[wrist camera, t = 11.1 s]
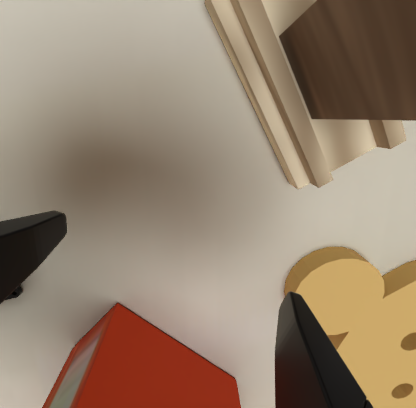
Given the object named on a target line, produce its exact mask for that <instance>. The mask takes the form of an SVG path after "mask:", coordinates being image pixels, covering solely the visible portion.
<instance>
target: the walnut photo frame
mask: <svg viewBox="0 0 416 408" xmlns="http://www.w3.org/2000/svg"><path fill="white" fill-rule="evenodd" d="M279 38H280V41H281V44H282V46H283V49H284V51H285V54H286V56H287V59H288V61H289V64H290V66H291V69H292V71H293V74H294V76H295V79H296V81H297V84H298V86H299V89H300V91H301V94H302V96H303V99H304V101H305V104H306V106H307V109H308V111H309V114H310V116H311V119H337V120H416V0H317V1H316V2H315V3H314V4H312V5H311V6H310V7H309V8H308V9H307V10H306V11H305V12H304V13H303V14H302V15H301V16H300V17H299V18H298V19H297V20H295V21H294V22H293V23H292V24H291V25H290V26H289V27H288V28H287V29H286V30H285V31H284V32H283V33H282V34H281V35H280V36H279Z"/></svg>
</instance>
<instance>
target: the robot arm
mask: <svg viewBox="0 0 416 408" xmlns="http://www.w3.org/2000/svg"><path fill="white" fill-rule="evenodd" d="M66 233H67V223H66V216H65V214H64V213H61V212H58V211H50V212H45V213H40V214H35V215H30V216H25V217H21V218H16V219H11V220H6V221H1V222H0V304H1V303H2V302H3V301H4V300H7V299H11V298H16V297H18V296H19V295H20V294H21V293H22V289H21V287H20V284H21V283H22V282H23V281H24V280H25V279H26V278H27V277H29V276H30V275H31V274H32V273H33V272H34V271H35V270H36V269H37V268H38V267H39V266H40V264H41V263H42V262H43V261H44V260H45V259H46V258H47V256H48V255H49V254H50V253H51V252H52V251H53V249H54V248H55V247H56V246H57V245H58V244H59V242H60V241H61V240H62V239H63V238H64V237H65V235H66ZM15 291H16V292H15ZM275 405H276V408H374V407H373V406H372V404H371V403H370V401H369V400H367V397H366V395H365V394H364V392H363V390H362V389H361V387H360V386H359V384H358V383H357V381H356V380H355V378H354V376H353V375H352V373H351V372H350V370H349V369H348V367H347V365H346V364H345V362H344V361H343V359H342V358H341V356H340V355H339V353H338V351H337V350H336V348H335V347H334V345H333V344H332V342H331V341H330V339H329V337H328V336H327V334H326V333H325V331H324V330H323V328H322V327H321V325H320V323H319V322H318V320H317V319H316V317H315V316H314V314H313V313H312V311H311V309H310V308H309V306H308V305H307V303H306V302H305V300H304V299H303V297H302V296H301V295H300V294H298V293H295V292H292V291H289V292H288V293H287V295H286V297H285V298H284V300H283V302H282V304H281V306H280V309H279V316H278V326H277V336H276V346H275Z"/></svg>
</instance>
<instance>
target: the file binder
mask: <svg viewBox="0 0 416 408" xmlns="http://www.w3.org/2000/svg"><path fill="white" fill-rule="evenodd" d="M42 408H241V405H240V400H239V394H238V388H237V383H236V380H235V378H233V377H232V376H230V375H228V374H227V373H225V372H224V371H222V370H221V369H219V368H218V367H216V366H215V365H213V364H211V363H210V362H208V361H207V360H205V359H204V358H202V357H201V356H199V355H198V354H196V353H194V352H193V351H191V350H190V349H188V348H187V347H185V346H184V345H182V344H180V343H179V342H177V341H176V340H174V339H173V338H171V337H170V336H168V335H167V334H165V333H163V332H162V331H160V330H159V329H157V328H156V327H154V326H153V325H151V324H150V323H148V322H146V321H145V320H143V319H142V318H140V317H139V316H137V315H136V314H134V313H133V312H131V311H129V310H128V309H126V308H125V307H123V306H122V305H120V304H119V303H117V304H116V305H115V306H114V307H113V308H112V309H111V310H110V311H109V312H108V313H107V314H106V315H105V316H104V317H103V318H102V319H101V320H100V321H99V322H98V323H97V324H96V325H95V326H94V327H93V328H92V329H91V330H90V331H89V332H88V333H87V334H86V335H85V336H84V337H83V338H82V339H81V340H80V341H79V342H78V343H77V344H76V345H75V347H74V348H73V349H72V351H71V353H70V355H69V357H68V359H67V361H66V362H65V364H64V366H63V368H62V370H61V372H60V374H59V376H58V378H57V380H56V382H55V384H54V386H53V388H52V390H51V392H50V394H49V395H48V397H47V399H46V401H45V403H44V405H43V407H42Z"/></svg>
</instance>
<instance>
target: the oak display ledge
mask: <svg viewBox="0 0 416 408" xmlns="http://www.w3.org/2000/svg"><path fill="white" fill-rule="evenodd" d="M316 1H317V0H205V6H206V8H207V10H208V12H209V14H210V16H211V18H212V21H213V23H214V25H215V27H216V29H217V31H218V33H219V35H220V38H221V40H222V42H223V44H224V46H225V48H226V50H227V52H228V54H229V57H230V59H231V61H232V63H233V65H234V67H235V69H236V71H237V74H238V76H239V78H240V80H241V82H242V84H243V86H244V88H245V90H246V93H247V95H248V97H249V99H250V101H251V103H252V105H253V107H254V110H255V112H256V114H257V116H258V118H259V120H260V122H261V124H262V126H263V129H264V131H265V133H266V135H267V137H268V139H269V141H270V143H271V145H272V148H273V150H274V152H275V154H276V156H277V158H278V160H279V162H280V165H281V167H282V169H283V171H284V173H285V175H286V177H287V179H288V181H289V183H290V184H291V185H293V186H294V187H295V188H297V189H298V190H299V189H301V188H302V187H304V186H306V185H308V184H310V183H311V184H313V185H315V186H316V187H318V188H319V187H321V186H323V185H325V184H327V183H329V182H330V181H332V180H333V177H332V175H331V172H332V171H334V170H335V169H337V168H339V167H341V166H343V165H345V164H346V163H348V162H350V161H352V160H354V159H356V158H357V157H359V156H361V155H363V154H365V153H366V152H368V151H370V150H372V149H374V148H376V147H382V148H388V149H391V148H393V147H395V146H397V145H399V144H401V143H402V142H404V141H406V137H405V133H404V132H405V131H404V128H403V124H402V120H337V119H311V116H310V114H309V111H308V109H307V106H306V104H305V101H304V99H303V96H302V94H301V91H300V89H299V86H298V84H297V81H296V79H295V76H294V74H293V71H292V69H291V66H290V64H289V61H288V59H287V56H286V54H285V51H284V49H283V46H282V44H281V41H280V38H279V36H280V35H281V34H282V33H283V32H284V31H285V30H286V29H287V28H288V27H289V26H290V25H291V24H292V23H293V22H294V21H295V20H297V19H298V18H299V17H300V16H301V15H302V14H303V13H304V12H305V11H306V10H307V9H308V8H309V7H310V6H311V5H312V4H314V3H315V2H316Z"/></svg>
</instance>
